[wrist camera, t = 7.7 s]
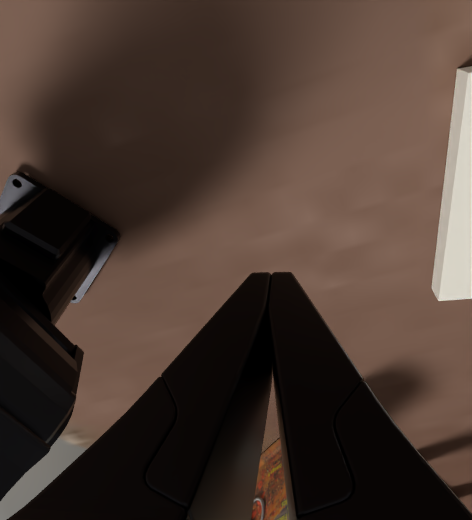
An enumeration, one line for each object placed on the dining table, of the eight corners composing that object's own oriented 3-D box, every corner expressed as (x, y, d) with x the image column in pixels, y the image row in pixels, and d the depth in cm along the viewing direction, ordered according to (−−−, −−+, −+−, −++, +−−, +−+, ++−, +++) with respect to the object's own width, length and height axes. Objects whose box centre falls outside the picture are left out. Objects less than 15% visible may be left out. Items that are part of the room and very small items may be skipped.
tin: (336, 385, 29) (356, 508, 22) (371, 401, 30) (401, 526, 23) (235, 474, 37) (226, 587, 30) (265, 486, 38) (263, 598, 30)
